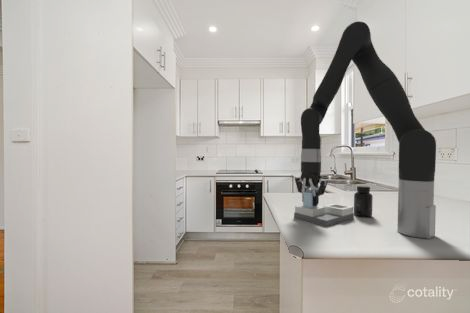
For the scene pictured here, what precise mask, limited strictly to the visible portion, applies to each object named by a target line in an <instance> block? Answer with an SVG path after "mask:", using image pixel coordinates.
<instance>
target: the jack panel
mask: <svg viewBox="0 0 470 313" xmlns="http://www.w3.org/2000/svg"><path fill="white" fill-rule="evenodd" d="M354 216H355V215H354V206H350V205H349V206H348V205H344V204H340V203H331V204H325V205H323V206H320V205H317V208H313V209H310V208H305V207H303V204H300V205H294V213H293V217H294V219H297V220H302V221H305V222H309V223H313V224H316V225H320V226H323V227H329V226H333V225H335V224H339V223H342V222H346V221H350V220H352V219H354V218H355V217H354Z"/></svg>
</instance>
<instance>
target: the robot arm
mask: <svg viewBox="0 0 470 313" xmlns="http://www.w3.org/2000/svg"><path fill="white" fill-rule="evenodd" d="M351 62H353V64H354V65H355V67H356V68H357V69H358V71H359V74H360V76H361V79H362V81H363V84H364V86H365V87H366V90H367V92H368V94H369V97H370V98H371V100H373V101H372V102H374V104H375V106H376V107H377V109H378V111H380V114H382V116H384V118H385V119H386V120H387V123H389V124H390V126H391V128H392V131H393V132H394V134H395V137H396V139H397V142H398V189H397V190H398V192H397V196H398V197H397V223H396V224H397V225H396V226H397V232H398V233H400V234H402V235H405V236H409V237H414V238H422V239H427V240H430V239H431V238H433V237H434V236H436V216H437V215H436V214H437V212H436V211H437V209H436V208H437V206H436V204H434V203H435V175H436V161H437V160H436V159H437V140H436V138H435V136H434V135H433V134H432V133H431V132H429V131H428V130H426V129H425V128H424V126H423V125H422V124H421V123H420V121H419V120H418V119H417V116H416V115H415V113H414V111H413V109H412V106H411V102H410V100H409V98H408V96H407V93H406V90H405V88H403V85H402V84H401V82H400V81H399V79H398V77H397V75H396V74H395V72H394V71H393V70H392V69H391V68H390V67H389V66H388V65H387V64H386V63H384V61H383V60H382V59H381V58H380V57H379V55H378V53H377V51H376V49H375V47H374V45H373V42H372V34H371V30H370V27H369V26H368V24H367V23H366V22H364V21H354V22H352V23H350V24H349V25H347V26H346V28H345V29H344V31H343V32H342V35H341V38H340V40H339V42H338V46H337V48H336V51H335V53H334V55H333V58H332V60H331V62H330V64H329V66H328V68H327V71H326V73H325V75H324V76H323V78H322V80H321V82H320V83H319V85H318V87H317V89H316V91H315V92H314V94H313V97H312V102H311V104H310V106H309V107H307V108H306V109H304V110H303V111H302V113H301V116H300V126H301V127H300V128H301V136H302V137H301V138H302V139H301V151H300V152H301V154H300V172H301V175H300V176H299V177H295V178H294V182H295V185H296V189H297V192H298V193H300V194H301V195H302V196H301V199H302V203H303V192H306V190H308V189H311V190H312V192H313V206H319V200H320V199H319V197H320V196H323V195H324V194H325V191H326V188H327V185H328V183H329V181H328V180H325V179H323V178H322V177H321V173H322V150H321V149H322V148H321V147H322V144H321V143H322V140H321V139H322V138H321V134H320V125H321V124H322V122H323V120H324V118H325V116H326V114H327V111H328V109H329V107H330V105H331V104H332V102H333V101H334V99H335V97H336V96H337V93H338V91H339V90H340V87H341V85H342V83H343V81H344V78H345V75H346V72H347V70H348V69H349V66H350V64H351Z"/></svg>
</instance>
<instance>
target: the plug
mask: <svg viewBox="0 0 470 313" xmlns="http://www.w3.org/2000/svg"><path fill="white" fill-rule="evenodd" d="M302 205H303V207H305V208H310V209H313V208H317V206H318V205H317V206H313V192H312V190H311V188H309V189H308V190H306V192H303V202H302Z"/></svg>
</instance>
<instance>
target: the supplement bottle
mask: <svg viewBox="0 0 470 313" xmlns="http://www.w3.org/2000/svg"><path fill="white" fill-rule="evenodd" d="M373 199H374V198H373V194H372V193H371V187H370V186H367V185H357V186H356V192H355V193H354V195H353V213H354V216H356V217H361V218H371V217H372V216H373Z"/></svg>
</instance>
